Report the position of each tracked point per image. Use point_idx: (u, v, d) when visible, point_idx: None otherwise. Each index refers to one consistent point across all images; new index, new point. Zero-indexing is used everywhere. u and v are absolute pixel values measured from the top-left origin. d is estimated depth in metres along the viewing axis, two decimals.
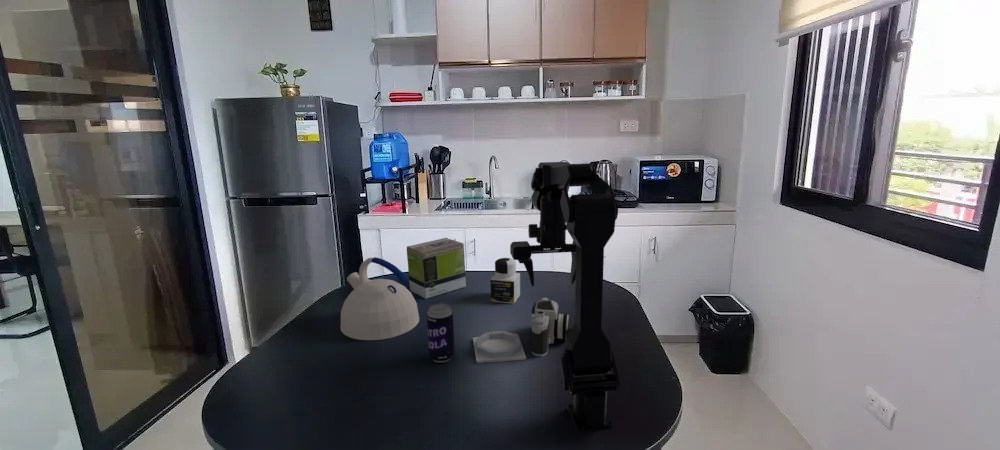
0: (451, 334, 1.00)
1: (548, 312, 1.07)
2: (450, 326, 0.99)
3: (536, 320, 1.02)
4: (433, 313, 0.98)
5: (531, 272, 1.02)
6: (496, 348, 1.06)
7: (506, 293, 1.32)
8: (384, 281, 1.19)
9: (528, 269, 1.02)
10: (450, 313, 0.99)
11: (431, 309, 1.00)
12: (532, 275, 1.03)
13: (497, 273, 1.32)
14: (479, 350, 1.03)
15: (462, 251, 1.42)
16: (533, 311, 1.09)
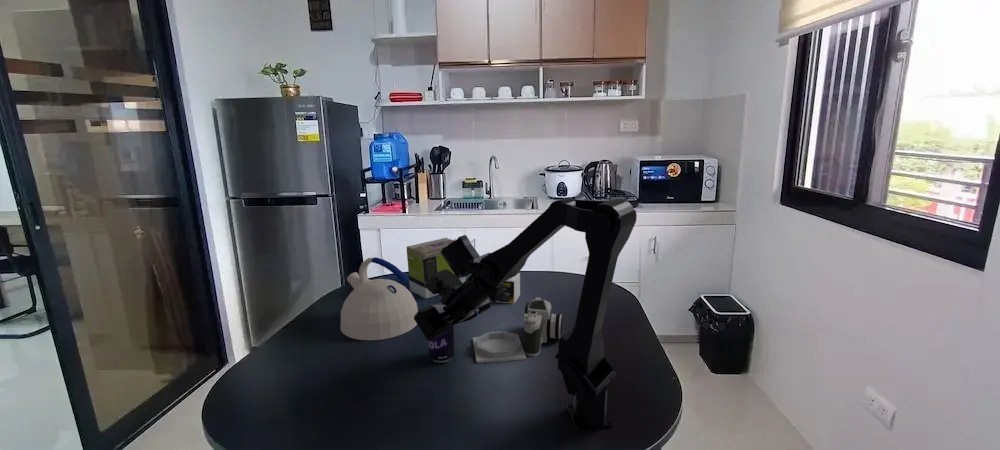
0: (451, 334, 1.00)
1: (541, 312, 1.07)
2: (450, 326, 0.99)
3: (528, 320, 1.03)
4: None
5: None
6: (496, 348, 1.06)
7: (506, 293, 1.32)
8: (384, 281, 1.19)
9: None
10: None
11: None
12: None
13: None
14: (479, 350, 1.03)
15: None
16: (526, 311, 1.09)
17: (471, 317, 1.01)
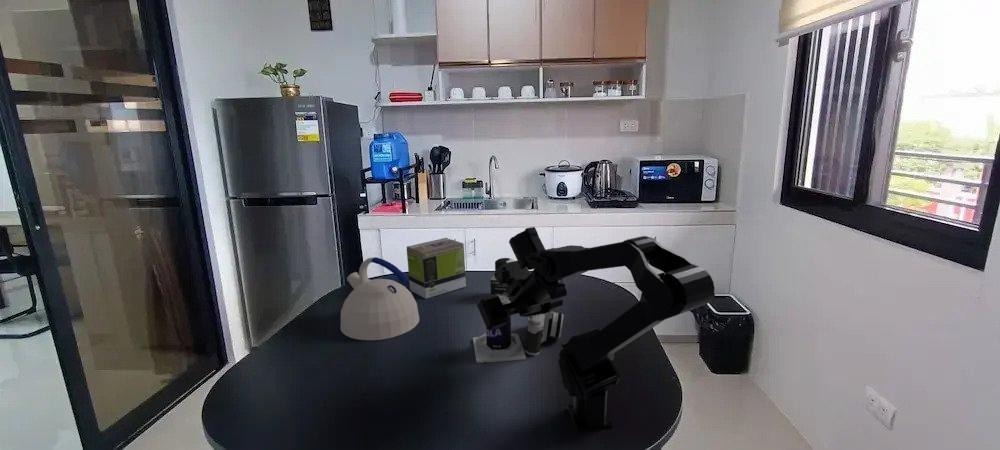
0: (506, 325, 1.03)
1: None
2: None
3: (533, 320, 1.02)
4: None
5: None
6: None
7: (506, 293, 1.32)
8: (384, 281, 1.19)
9: None
10: None
11: None
12: None
13: None
14: (479, 350, 1.03)
15: (462, 251, 1.42)
16: None
17: (546, 311, 0.99)
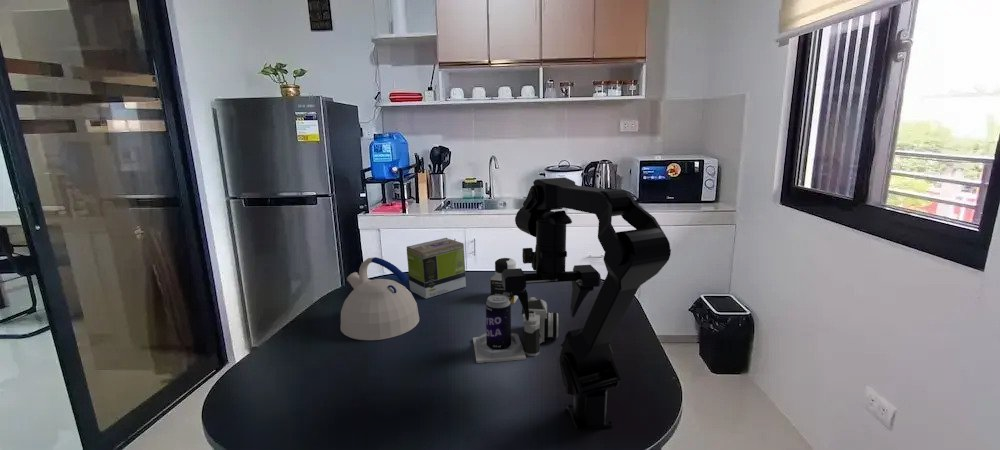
0: (507, 325, 1.03)
1: (539, 311, 1.08)
2: (505, 317, 1.02)
3: None
4: (490, 302, 1.02)
5: (526, 305, 0.89)
6: None
7: (506, 293, 1.32)
8: (384, 281, 1.19)
9: (522, 302, 0.88)
10: (507, 305, 1.02)
11: (490, 298, 1.04)
12: (527, 308, 0.89)
13: (497, 273, 1.32)
14: (479, 350, 1.03)
15: (462, 251, 1.42)
16: (523, 311, 1.09)
17: (583, 288, 0.89)
